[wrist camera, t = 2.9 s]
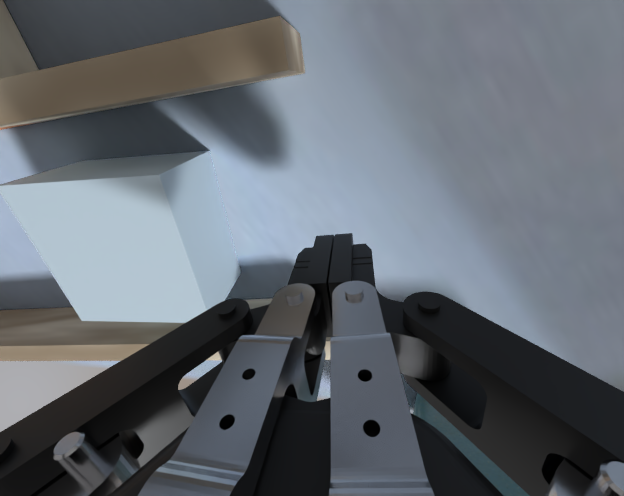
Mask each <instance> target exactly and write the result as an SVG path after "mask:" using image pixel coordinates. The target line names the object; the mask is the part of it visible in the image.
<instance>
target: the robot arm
mask: <svg viewBox="0 0 624 496" xmlns="http://www.w3.org/2000/svg"><path fill="white" fill-rule="evenodd" d="M326 337H331V339H330V385H331V398H328V399H324V400H319V401H317V397H318V392H319V387H320V382H321V377H322V372H323V367H324V362H325V356H326V353H325V345H326ZM217 352H219V355H220V357H221V359H222V362H221V363H220V364H218V365H217V366H216V367H214V368H213V369H211V370H210V371H209V372H207V373H206V374H205V375H203V376H202V377H200V378H199V379H198V380H196V381H195V382H194V383H192V384H191V385H190V386H188V387H187V388H185V389H182V390H178V384H179V382H180V380H181V379H182V377H183V376H184V375H186V374H187V373H188V372H190V371H191V370H193V369H194V368H195V367H197V366H198V365H200V364H201V363H203V362H204V361H205V360H207V359H208V358H210V357H211V356H213V355H214V354H215V353H217ZM400 373H401V374H403V375H404V378H405V380H406V382H407V383H408V384H409V385H410V386H411V387H412V388H413V389H414V390H415V391H416V392H417V393H418V394H419V395H421V396H422V397H423V398H424V399H425V400H426V401H427V402H428V403H429V404H430V405H431V406H433V407H434V408H435V409H436V410H437V411H438V412H439V413H440V414H441V415H442V416H443V417H445V418H446V419H447V420H448V421H449V422H450V423H451V424H452V425H453V426H454V427H455V428H457V429H458V430H459V431H460V432H461V433H462V434H463V435H464V436H465V437H466V438H467V439H469V440H470V441H471V442H472V443H473V444H474V445H475V446H476V447H477V448H478V449H479V450H480V451H482V452H483V453H484V454H485V455H486V456H487V457H488V458H489V459H490V460H491V461H492V462H494V463H495V464H496V465H497V466H498V467H499V468H500V469H501V470H502V471H503V472H504V473H506V474H507V475H508V476H509V477H510V478H511V479H512V480H513V481H514V482H515V483H516V484H518V485H519V486H520V487H521V488H522V489H523V490H524V491H525V492H526V493H527V494H528V495H530V496H624V392H623V391H621V390H619V389H617V388H615V387H613V386H612V385H610V384H608V383H606V382H604V381H602V380H600V379H598V378H597V377H595V376H593V375H591V374H589V373H587V372H585V371H583V370H582V369H580V368H578V367H576V366H574V365H572V364H570V363H569V362H567V361H565V360H563V359H561V358H559V357H557V356H555V355H554V354H552V353H550V352H548V351H546V350H544V349H542V348H541V347H539V346H537V345H535V344H533V343H531V342H529V341H527V340H526V339H524V338H522V337H520V336H518V335H516V334H514V333H512V332H511V331H509V330H507V329H505V328H503V327H501V326H499V325H498V324H496V323H494V322H492V321H490V320H488V319H486V318H484V317H483V316H481V315H479V314H477V313H475V312H473V311H471V310H470V309H468V308H466V307H464V306H462V305H460V304H458V303H456V302H455V301H453V300H451V299H449V298H447V297H445V296H443V295H441V294H438V293H433V292H418V293H414V294H412V295H410V296H408V297H407V298H406V299H405V300H404V302H398V301H393V300H390V299H387V298H385V297H383V296H382V295H380V294H379V293H378V291H377V290H376V287H375V279H374V269H373V260H372V251H371V249H370V248H369V247H368V246H367V245H366V244H356V245H353V236H352V233H349V234H336V235H335V236H334V235H324V236H316V239H315V243H314V247H313V248H305V249H303V250H302V251H301V252H300V253H299V254H298V256H297V259H296V263H295V265H294V269H293V271H292V274H291V277H290V280H289V283H288V285H287V286H285V287H283V288H281V289H280V290H278V291H277V292H276V293H275V295H274V297H273V299H272V301H271V303H270V304H268V305H265V306H261V307H257V308H253V309H250V307H249V304H248V303H247V302H246V301H245V300H243V299H229V300H225V301H223V302H220V303H218V304H217V305H215V306H213V307H211V308H210V309H208V310H206V311H205V312H203V313H201V314H200V315H198V316H196V317H195V318H193V319H191V320H190V321H188V322H186V323H184V324H183V325H181V326H179V327H178V328H176V329H174V330H173V331H171V332H169V333H168V334H166V335H164V336H162V337H161V338H159V339H157V340H156V341H154V342H152V343H151V344H149V345H147V346H146V347H144V348H142V349H140V350H139V351H137V352H135V353H134V354H132V355H130V356H129V357H127V358H125V359H124V360H122V361H120V362H118V363H117V364H115V365H113V366H112V367H110V368H108V369H107V370H105V371H103V372H102V373H100V374H98V375H96V376H95V377H93V378H91V379H90V380H88V381H86V382H85V383H83V384H81V385H80V386H78V387H76V388H75V389H73V390H71V391H69V392H68V393H66V394H64V395H63V396H61V397H59V398H58V399H56V400H54V401H52V402H51V403H49V404H48V405H46V406H44V407H42V408H41V409H39V410H37V411H36V412H34V413H32V414H31V415H29V416H27V417H26V418H24V419H22V420H20V421H19V422H17V423H16V424H14V425H12V426H10V427H9V428H7V429H5V430H4V431H2V432H0V496H504V495H503V494H502V493H501V492H500V491H499V490H498V489H497V488H496V487H495V486H494V485H493V484H492V483H491V482H490V481H489V480H488V479H487V478H486V477H485V476H484V475H483V474H482V473H481V472H480V471H479V470H478V469H477V468H476V467H475V466H474V465H473V464H472V463H471V461H470V460H469V459H468V458H467V457H466V456H465V455H464V454H463V453H462V452H461V451H460V450H459V449H458V448H457V447H456V446H455V445H454V444H453V443H452V442H451V441H450V440H449V439H448V438H447V437H446V436H445V435H444V434H442V433H441V432H440V431H439V430H438V429H436V428H435V427H434V426H432V425H431V424H429V423H428V422H426V421H425V420H423V419H421V418H419V417H417V416H416V415H414V414H411V413H410V409H409V405H408V401H407V397H406V393H405V389H404V385H403V381H402V378H401V374H400Z"/></svg>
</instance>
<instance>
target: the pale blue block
mask: <svg viewBox="0 0 624 496" xmlns="http://www.w3.org/2000/svg"><path fill="white" fill-rule="evenodd" d="M0 194H1V195H2V197H3V199H4V200H5V202H6V203H7V205H8V206H9V208H10V209H11V211H12V213H13V214H14V216H15V217H16V219H17V220H18V222H19V224H20V225H21V227H22V228H23V230H24V231H25V233H26V235H27V236H28V238H29V239H30V241H31V242H32V244H33V245H34V247H35V249H36V250H37V252H38V253H39V255H40V256H41V258H42V260H43V261H44V263H45V264H46V266H47V267H48V269H49V270H50V272H51V274H52V275H53V277H54V278H55V280H56V281H57V283H58V285H59V286H60V288H61V289H62V291H63V292H64V294H65V296H66V297H67V299H68V300H69V302H70V303H71V305H72V306H73V308H74V310H75V311H76V313H77V314H78V316H79V317H80V319H81V321H111V322H168V323H186V322H188V321H190V320H191V319H193V318H195V317H196V316H198V315H200V314H201V313H203V312H205V311H206V310H208V309H210V308H211V307H213V306H215V305H217V304H218V303H220V302H223V301H225V299H226V298H227V296H228V294H229V292H230V291H231V289H232V287H233V286H234V284H235V282H236V281H237V279H238V277H239V275H240V274H241V270H240V266H239V262H238V258H237V254H236V250H235V246H234V243H233V239H232V235H231V231H230V227H229V223H228V219H227V215H226V211H225V208H224V204H223V200H222V196H221V192H220V188H219V184H218V180H217V176H216V173H215V169H214V165H213V161H212V157H211V153H210V151H197V152H185V153H172V154H160V155H148V156H135V157H123V158H110V159H98V160H85V161H80V162H76V163H73V164H69V165H66V166H63V167H59V168H56V169H52V170H49V171H45V172H42V173H38V174H35V175H32V176H28V177H25V178H21V179H18V180H14V181H11V182H8V183H4V184H1V185H0Z"/></svg>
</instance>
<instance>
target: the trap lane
mask: <svg viewBox="0 0 624 496" xmlns="http://www.w3.org/2000/svg"><path fill="white" fill-rule="evenodd" d="M304 73H305V67H304V60H303V53H302V46H301V39H300V33H298V32H297V31H296V30H295V29H294V28H293V27H292V26H291V25H290V24H288V23H287V22H286V21H285V20H284V19H283V18H282V17H281V16H277V17H272V18H268V19H263V20H259V21H254V22H250V23H246V24H241V25H237V26H232V27H228V28H223V29H219V30H215V31H210V32H206V33H201V34H197V35H192V36H188V37H184V38H179V39H175V40H170V41H166V42H161V43H157V44H153V45H148V46H144V47H139V48H135V49H130V50H126V51H122V52H117V53H113V54H108V55H104V56H99V57H95V58H91V59H86V60H82V61H77V62H73V63H68V64H64V65H60V66H55V67H51V68H46V69H42V70H39V69H38V67H37V65H36V63H35V61H34V60H33V58H32V56H31V54H30V52H29V50H28V48H27V46H26V44H25V42H24V40H23V38H22V36H21V34H20V32H19V30H18V28H17V27H16V25H15V23H14V21H13V19H12V17H11V15H10V13H9V11H8V9H7V7H6V5H5V3H4V1H3V0H0V130H2V129H8V128H13V127H18V126H24V125H29V124H34V123H40V122H45V121H51V120H56V119H61V118H67V117H72V116H78V115H83V114H88V113H94V112H99V111H105V110H110V109H115V108H121V107H126V106H131V105H137V104H142V103H148V102H153V101H158V100H164V99H169V98H175V97H180V96H185V95H191V94H196V93H202V92H207V91H212V90H218V89H223V88H228V87H234V86H239V85H245V84H250V83H255V82H261V81H266V80H272V79H277V78H282V77H288V76H293V75H299V74H304ZM272 299H273V298H271V299H248V300H245V301H246V302H247V303H248V304H249V307H250V309H253V308H257V307H261V306H265V305H268V304H270V303H271V301H272ZM183 324H184V323H168V322H111V321H81V319H80V317H79V316H78V314H77V313H76V311H75V310H74V308H73V307H63V308H40V309H17V310H0V361H122V360H124V359H125V358H127V357H129V356H130V355H132V354H134V353H135V352H137V351H139V350H140V349H142V348H144V347H146V346H147V345H149V344H151V343H152V342H154V341H156V340H157V339H159V338H161V337H162V336H164V335H166V334H168V333H169V332H171V331H173V330H174V329H176V328H178V327H179V326H181V325H183ZM330 339H331V337H326V345H325V353H326V356H325V360H330ZM207 360H222V359H221V357H220V355H219V352H217V353H215V354H214V355H213V356H211V357H210V358H208V359H207Z"/></svg>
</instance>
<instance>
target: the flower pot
mask: <svg viewBox="0 0 624 496" xmlns="http://www.w3.org/2000/svg"><path fill="white" fill-rule="evenodd" d="M413 414H414V415H416V416H417V417H419V418H421V419H423V420H425V421H426V422H428V423H429V424H431V425H432V426H434V427H435V428H436V429H438V430H439V431H440V432H441V433H442V434H444V435H445V436H446V437H447V438H448V439H449V440H450V441H451V442H452V443H453V444H454V445H455V446H456V447H457V448H458V449H459V450H460V451H461V452H462V453H463V454H464V455H465V456H466V457H467V458H468V459H469V460H470V461H471V463H472V464H473V465H474V466H475V467H476V468H477V469H478V470H479V471H480V472H481V473H482V474H483V475H484V476H485V477H486V478H487V479H488V480H489V481H490V482H491V483H492V484H493V485H494V486H495V487H496V488H497V489H498V490H499V491H500V492H501V493H502V494H503V495H504V496H530V495H528V494H527V493H526V492H525V491H524V490H523V489H522V488H521V487H520V486H519V485H518V484H516V483H515V482H514V481H513V480H512V479H511V478H510V477H509V476H508V475H507V474H506V473H504V472H503V471H502V470H501V469H500V468H499V467H498V466H497V465H496V464H495V463H494V462H492V461H491V460H490V459H489V458H488V457H487V456H486V455H485V454H484V453H483V452H482V451H480V450H479V449H478V448H477V447H476V446H475V445H474V444H473V443H472V442H471V441H470V440H469V439H467V438H466V437H465V436H464V435H463V434H462V433H461V432H460V431H459V430H458V429H457V428H455V427H454V426H453V425H452V424H451V423H450V422H449V421H448V420H447V419H446V418H445V417H443V416H442V415H441V414H440V413H439V412H438V411H437V410H436V409H435V408H434V407H433V406H431V405H430V404H429V403H428V402H427V401H426V400H425V399H424V398H423V397H422V396H421V395H419V394H418V393H417V396H416V401H415V406H414V412H413Z"/></svg>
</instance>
